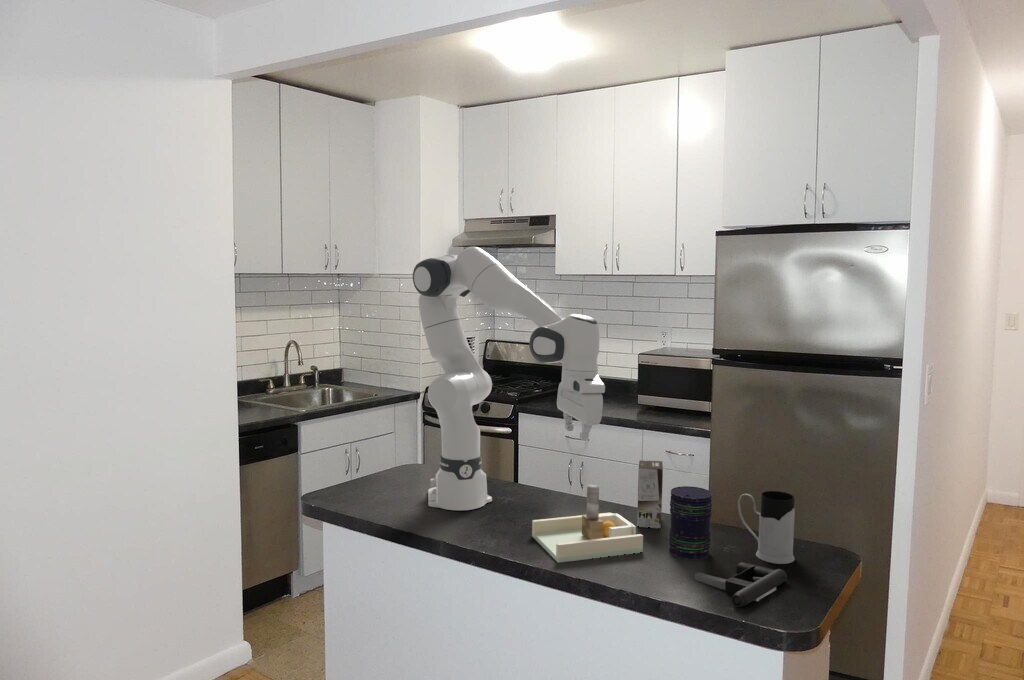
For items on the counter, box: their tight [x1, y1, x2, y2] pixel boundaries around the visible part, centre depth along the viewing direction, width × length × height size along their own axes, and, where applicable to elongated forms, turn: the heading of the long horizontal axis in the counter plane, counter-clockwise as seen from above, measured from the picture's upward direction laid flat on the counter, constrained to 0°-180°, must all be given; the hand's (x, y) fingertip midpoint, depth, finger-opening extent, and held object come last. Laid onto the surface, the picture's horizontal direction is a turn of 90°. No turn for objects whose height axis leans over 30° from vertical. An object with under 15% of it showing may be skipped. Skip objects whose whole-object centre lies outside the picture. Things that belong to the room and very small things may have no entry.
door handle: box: [694, 561, 788, 608], centre depth 163 cm, size 3×20×16 cm
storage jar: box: [668, 485, 713, 561], centre depth 181 cm, size 10×10×15 cm
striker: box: [581, 484, 603, 540], centre depth 186 cm, size 6×3×13 cm, turn 18°
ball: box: [603, 521, 616, 537], centre depth 188 cm, size 4×4×4 cm
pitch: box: [531, 512, 644, 564], centre depth 186 cm, size 18×22×5 cm
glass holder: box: [737, 490, 796, 565], centre depth 181 cm, size 9×14×15 cm, turn 48°
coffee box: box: [636, 459, 664, 529], centre depth 202 cm, size 9×6×16 cm
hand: (576, 434), depth 187 cm, fingers open, 8 cm apart
